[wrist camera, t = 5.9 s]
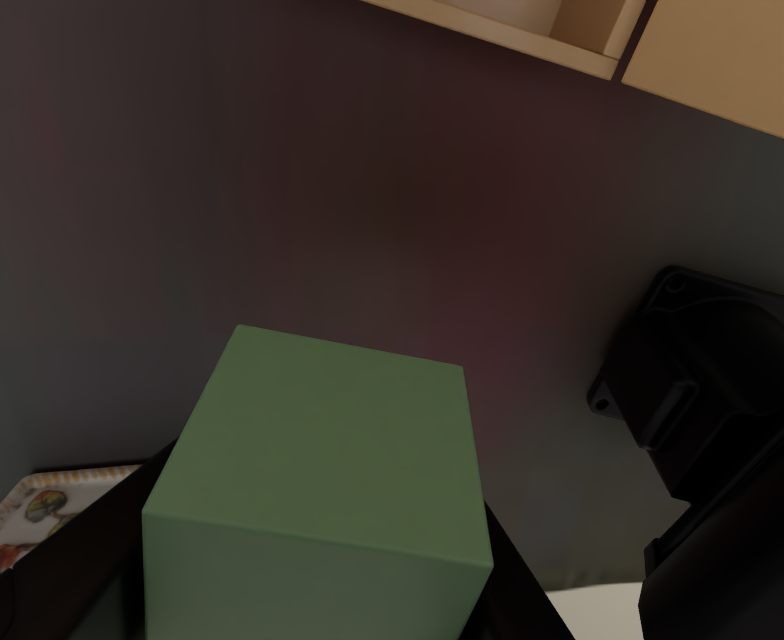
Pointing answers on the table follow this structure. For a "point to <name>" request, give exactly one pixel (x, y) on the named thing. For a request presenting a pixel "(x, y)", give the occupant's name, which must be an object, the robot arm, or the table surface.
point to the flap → (716, 59)
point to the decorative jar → (49, 506)
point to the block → (318, 500)
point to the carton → (538, 27)
